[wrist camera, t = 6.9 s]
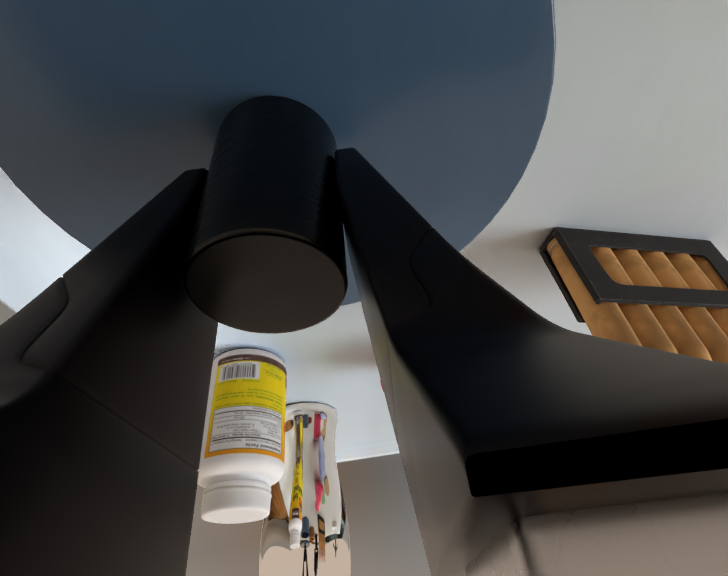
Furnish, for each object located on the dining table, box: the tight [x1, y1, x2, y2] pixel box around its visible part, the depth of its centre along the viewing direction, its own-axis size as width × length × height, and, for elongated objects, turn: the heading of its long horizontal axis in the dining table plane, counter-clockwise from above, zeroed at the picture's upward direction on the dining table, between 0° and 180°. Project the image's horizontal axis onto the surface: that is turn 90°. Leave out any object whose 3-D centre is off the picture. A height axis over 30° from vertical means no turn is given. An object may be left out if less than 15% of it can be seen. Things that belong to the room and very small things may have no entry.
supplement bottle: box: [197, 349, 287, 524], centre depth 28 cm, size 6×6×10 cm
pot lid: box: [0, 0, 556, 333], centre depth 8 cm, size 12×12×5 cm
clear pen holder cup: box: [259, 402, 351, 576], centre depth 34 cm, size 7×7×15 cm
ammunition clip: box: [539, 228, 728, 363], centre depth 21 cm, size 11×2×12 cm, turn 79°
